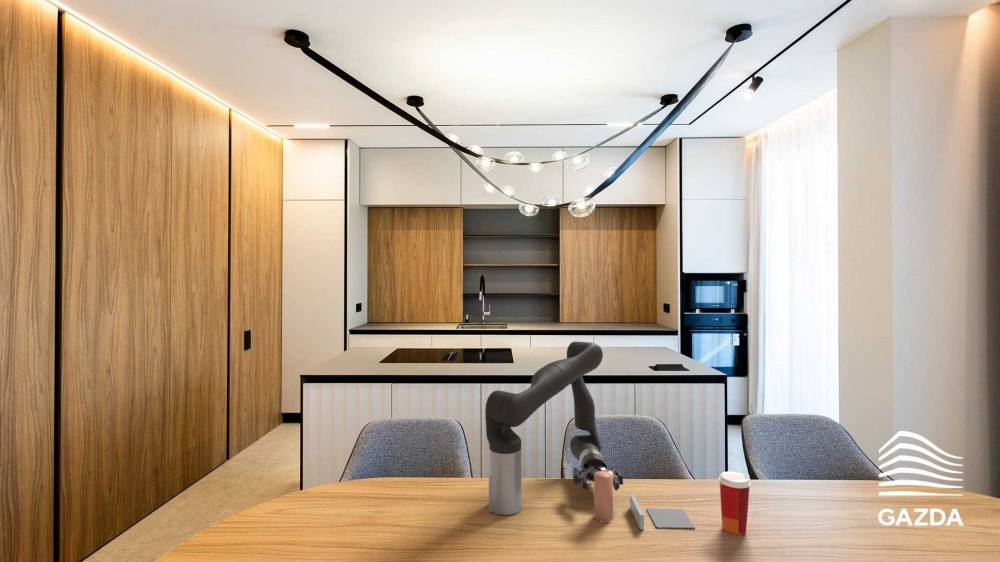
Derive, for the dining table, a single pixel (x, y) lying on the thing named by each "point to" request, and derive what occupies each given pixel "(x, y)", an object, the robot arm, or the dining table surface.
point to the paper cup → (734, 502)
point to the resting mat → (670, 518)
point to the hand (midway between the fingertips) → (601, 486)
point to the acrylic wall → (637, 511)
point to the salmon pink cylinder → (603, 496)
